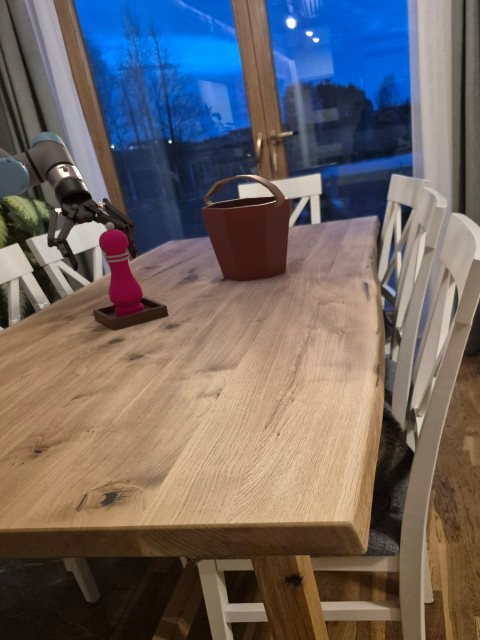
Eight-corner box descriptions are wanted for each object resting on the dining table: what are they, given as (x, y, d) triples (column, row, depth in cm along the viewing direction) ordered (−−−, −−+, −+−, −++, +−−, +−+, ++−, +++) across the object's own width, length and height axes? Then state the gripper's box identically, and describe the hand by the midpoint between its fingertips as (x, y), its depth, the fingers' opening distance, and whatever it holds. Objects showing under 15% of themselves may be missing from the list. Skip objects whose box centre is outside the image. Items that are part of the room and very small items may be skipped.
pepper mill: (138, 307, 134) (118, 218, 126) (152, 312, 129) (132, 220, 121) (109, 315, 130) (86, 224, 122) (122, 321, 125) (99, 226, 117)
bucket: (198, 277, 161) (181, 182, 151) (260, 259, 174) (248, 171, 163) (251, 287, 144) (235, 180, 133) (315, 267, 156) (306, 168, 146)
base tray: (95, 319, 132) (92, 310, 131) (147, 306, 138) (144, 296, 137) (113, 330, 122) (111, 320, 121) (168, 315, 128) (166, 305, 127)
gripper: (13, 185, 127) (49, 261, 122) (122, 170, 139) (159, 239, 134) (15, 209, 133) (50, 283, 128) (120, 193, 145) (155, 260, 140)
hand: (106, 260), depth 131 cm, fingers open, 13 cm apart
